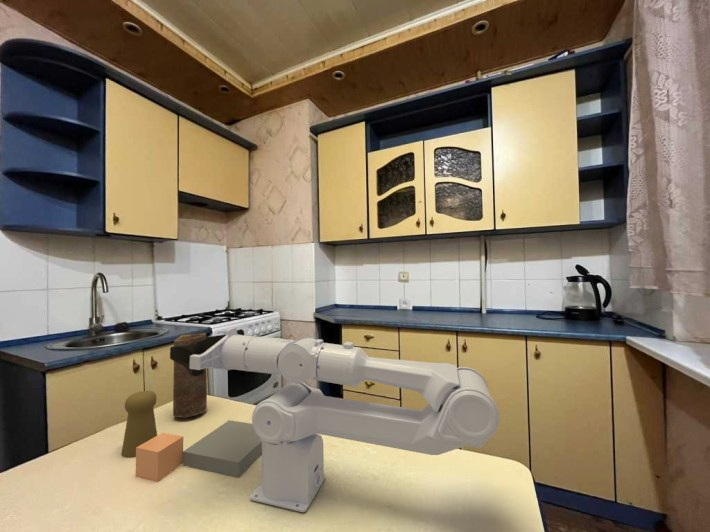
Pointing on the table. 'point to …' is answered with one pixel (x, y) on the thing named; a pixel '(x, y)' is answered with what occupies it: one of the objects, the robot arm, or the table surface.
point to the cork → (139, 421)
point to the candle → (188, 385)
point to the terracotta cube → (159, 456)
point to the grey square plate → (225, 450)
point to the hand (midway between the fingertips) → (190, 347)
